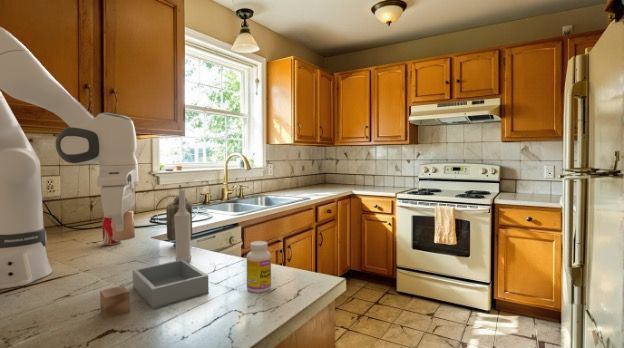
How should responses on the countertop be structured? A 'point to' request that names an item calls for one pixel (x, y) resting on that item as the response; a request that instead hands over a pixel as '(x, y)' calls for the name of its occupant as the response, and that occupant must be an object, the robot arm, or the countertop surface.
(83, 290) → the countertop surface
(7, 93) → the robot arm
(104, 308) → the cube
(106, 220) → the soda can
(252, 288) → the supplement bottle
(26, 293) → the countertop surface
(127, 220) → the cylinder
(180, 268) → the tote
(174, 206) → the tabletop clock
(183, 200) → the bottle
